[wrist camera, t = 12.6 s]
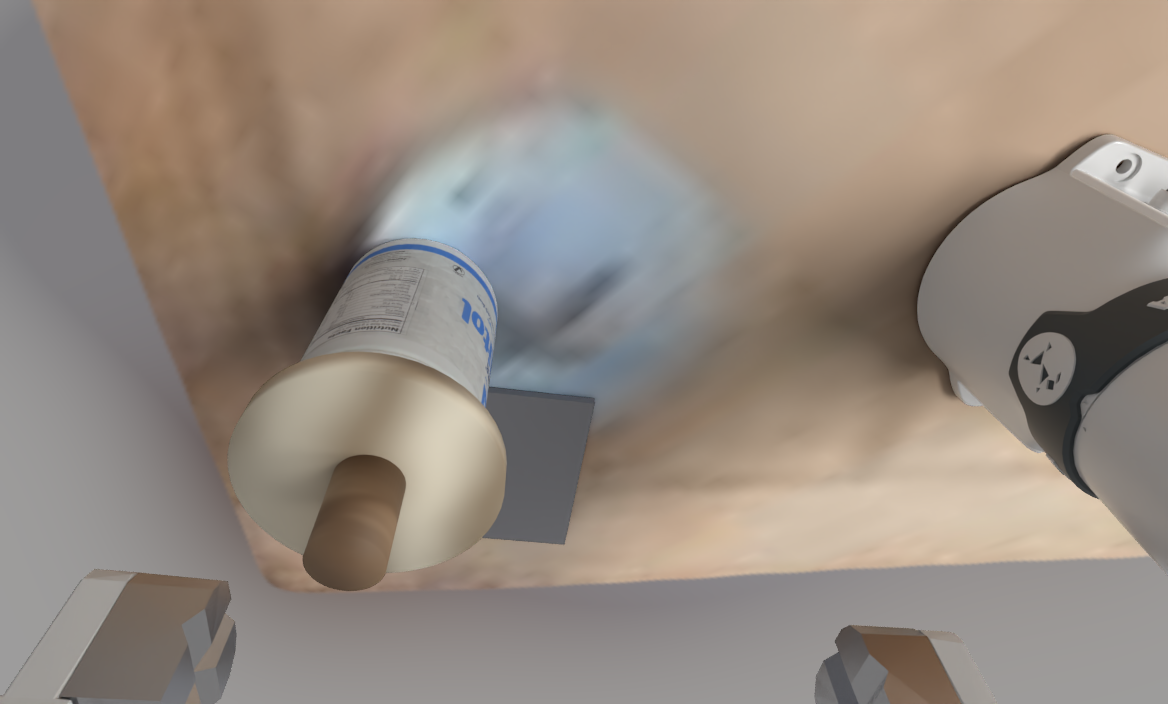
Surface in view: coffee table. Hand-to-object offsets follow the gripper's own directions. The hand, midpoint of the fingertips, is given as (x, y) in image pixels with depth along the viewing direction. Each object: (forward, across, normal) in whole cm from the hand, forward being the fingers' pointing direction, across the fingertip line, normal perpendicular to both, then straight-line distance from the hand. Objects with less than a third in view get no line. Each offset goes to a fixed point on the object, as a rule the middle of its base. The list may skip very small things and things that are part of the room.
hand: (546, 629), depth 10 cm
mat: (+34, +1, +28) cm, 44 cm away
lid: (+20, +6, +15) cm, 25 cm away
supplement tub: (+34, +6, +15) cm, 38 cm away
